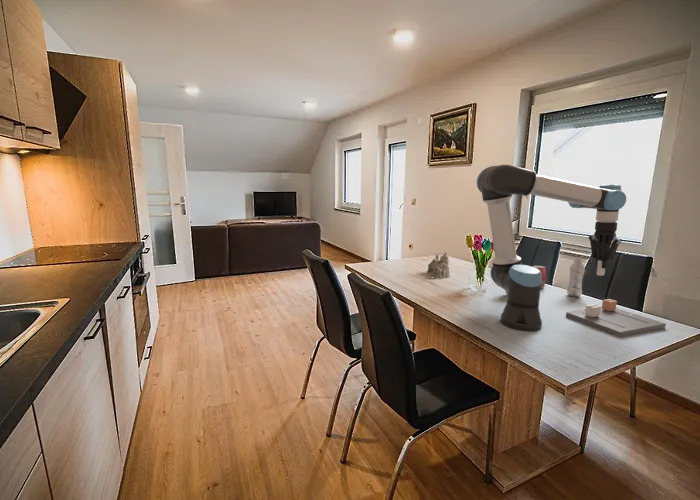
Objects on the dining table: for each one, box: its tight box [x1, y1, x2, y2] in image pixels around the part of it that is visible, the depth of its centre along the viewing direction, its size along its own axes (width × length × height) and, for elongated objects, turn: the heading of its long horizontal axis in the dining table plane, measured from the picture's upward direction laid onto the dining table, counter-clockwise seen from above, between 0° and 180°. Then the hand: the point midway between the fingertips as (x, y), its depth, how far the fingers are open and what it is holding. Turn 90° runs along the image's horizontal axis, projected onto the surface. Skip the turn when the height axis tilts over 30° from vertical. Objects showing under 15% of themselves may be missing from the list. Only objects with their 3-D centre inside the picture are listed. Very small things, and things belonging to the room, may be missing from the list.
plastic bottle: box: [566, 256, 586, 298], centre depth 175 cm, size 6×7×20 cm
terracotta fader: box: [601, 298, 618, 311], centre depth 150 cm, size 4×3×4 cm
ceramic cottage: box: [426, 252, 450, 280], centre depth 217 cm, size 16×16×15 cm
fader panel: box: [565, 306, 666, 338], centre depth 142 cm, size 26×22×2 cm
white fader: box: [585, 303, 602, 317], centre depth 143 cm, size 4×3×4 cm
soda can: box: [533, 265, 547, 290], centre depth 191 cm, size 7×7×12 cm
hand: (600, 275), depth 150 cm, fingers closed
